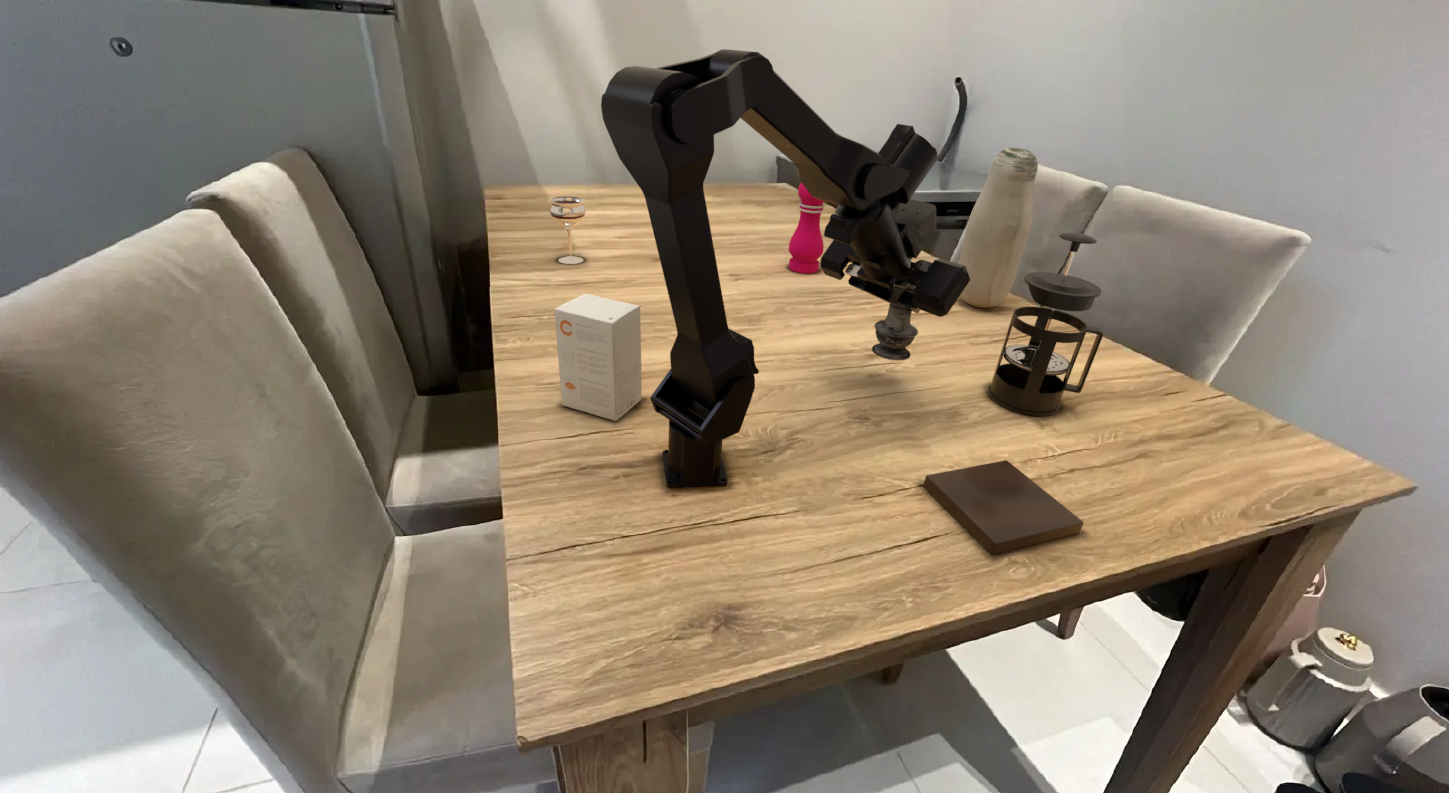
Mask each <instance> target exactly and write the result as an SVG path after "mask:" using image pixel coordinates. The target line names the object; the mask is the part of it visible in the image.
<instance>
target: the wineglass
mask: <svg viewBox="0 0 1449 793" xmlns="http://www.w3.org/2000/svg"><path fill="white" fill-rule="evenodd" d="M549 201H550V203H551V204H550V208H549V209H550V210H549V212H550V216H551V218H552V220H554V222H556V224H557V225H560V226H562V227H563V228H564V229H565V230H566V233H567V242H568V254H569V255H566V256H562V257H559V259H558V262H559V263H562V264H566V265H576V264H580V263H583V262H584V259H583V258H582V257H579V256H574V255H573V254H572V252H573V251H572V230H573V228H574V227H576V226H578V225H580V223H582V222H583V221H584V219H585V217H586V207H585V205H584V203H585V199H584V198H583V197H580V196H572V195H560V196H554V197H551V198H549Z"/></svg>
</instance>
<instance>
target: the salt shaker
mask: <svg viewBox="0 0 1449 793" xmlns="http://www.w3.org/2000/svg"><path fill="white" fill-rule="evenodd" d="M904 290H905V289H904V288H901V287H898V286H895V285H894V289H893V294H892V297H891V298H889V299H888V301H889V302H888V304H889V306H888V310H887V315H886V317H885V318H884V319H882V320H881V319H880V320H878V321H876V322H875V323H874V329H875V336H876V340H877V341H878V342H879V343H876V344H874V345H872V347H871V351H872V353H873V354H874V355H875V356H877V357H879V358H881V359H882V358H883V359H885V360H889V361H890V360H891V361H905V360H908V359H909V358H910V357H911V352H910V350H909V349H907V347H909V346H910V345H911V344H912V342H913V341H914V340H915V337H917V336H918V335H919V330H918V329H917V327H916V326H914V325H913V324H911V316H912V312H913V311H911V310H909V309H908V308H906V307H904V306H902V305H901V304H899V303H897V302H896V301H897V300H898V298H899V297H900V295H901V294H902V292H903V291H904Z"/></svg>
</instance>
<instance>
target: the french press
mask: <svg viewBox="0 0 1449 793" xmlns="http://www.w3.org/2000/svg"><path fill="white" fill-rule="evenodd" d="M1058 237H1059V238H1060V239H1062V240H1064V241H1068V242H1071V244H1070V246H1069V252H1070V254H1069V255H1070V256H1069V258H1068V260H1067V263H1066V266H1065V268H1064V272H1063V273H1057V272H1049V271H1035V272H1030V273H1029V272H1028V273H1026V274H1025V275H1024V277H1023V281H1024V283H1025V284H1027V286H1028V290H1029V292H1030V296H1031V297H1032V299H1033V301H1034V302H1035V303H1036V304H1037V305H1040V306H1019V307H1017V308H1015V309H1014V310H1013V312H1012V316H1011V318H1010V321H1009V325H1008V328H1007V332H1006V335H1005V338H1004V340H1003V341H1004V342H1003V344H1002V348H1001V351H1000V354H999V356H998V357H999V358H998V360H997V364H996V367H995V370H994V374H993V377H992V380H991V383H990V384H989V385H988V387H987V390H986V391H987V396H988V397H989V398H990V400H992V401H993V402H995V404H997V406H1000V407H1002V408H1004V409H1006V410H1008V411H1011V412H1014V413H1016V414H1021V415H1024V416H1025V415H1026V416H1030V417H1032V416H1033V417H1049V416H1054V415H1055V414H1057V413H1058V412H1059V410H1060V408H1061V400H1062V397H1063V395H1064V392H1071V393H1076V394H1080V393H1081V392H1082V390H1083V388H1084V385H1085V382H1086V380H1087V378H1088V375H1089V373H1090V370H1091V367H1092V365H1093V362H1094V360H1095V357H1096V355H1097V352H1098V350H1099V347H1100V344H1101V342H1102V340H1103V337H1104V331H1103V329H1102V328H1101V327H1096V326H1091V325H1087V323H1086V322H1085V321H1084V320H1083V319H1080V318H1079V317H1077V316H1076V315H1073V314H1070V313H1068V312H1084V311H1085V312H1086V311H1089V310H1090V309H1092V307H1093V305H1094V302H1095V299H1096V298H1098V297H1100V296H1101V294H1102V289H1101V288H1100V287H1099V286H1098V285H1096V284H1095V283H1094V282H1091V281H1088V280H1085V279H1082V278H1080V277H1076V276H1073V275H1069V274H1068V273H1069V271H1070V267H1071V265H1072V261H1073V259H1074V255H1075V253H1078V250H1079V248H1080V246H1081V244H1083V245H1084V244H1085V245H1094V244H1097V243H1098V242H1097V241H1098V240H1097V239H1096V238H1094V237H1093V236H1090V235H1087V234H1084V233H1079V232H1062V233H1060V234H1058ZM1065 311H1067V312H1065ZM1021 317H1037V318H1036V320H1035V323H1034V325H1032V324H1029V323H1027V322H1025V321H1023V320H1022V319H1020V318H1021ZM1052 320H1053V321H1057V322H1061V323H1064V324H1066V325H1069V326H1071V327H1073V328H1075V330H1078V331H1077V332H1060V331H1055V330H1054V331H1053V330H1050V325H1051V323H1052ZM1012 328H1014V329H1016V330H1017V331H1019V332H1020V333H1022V334H1024V335H1026V336H1029V337H1030V338H1029V342H1028V344H1012V345H1008V341H1009V338H1010V335H1011V332H1012ZM1087 333H1089V334H1094V335H1096V336H1095V339H1094V341H1093V344H1092V347H1091V349H1090V352H1089V355H1088V357H1087V360H1086V362H1085V364H1084V367H1083V370H1082V372H1081V375H1080V378H1079V380H1078V383H1077V384H1076V385H1075V384H1071V383H1068V382H1069V378H1070V376H1071V374H1072V370H1073V368H1074V366H1075V363H1076V361H1077V358H1078V355H1079V352H1080V350H1081V348H1082V344H1083V341H1084V339H1085V337H1086V334H1087ZM1057 343H1058V344H1059V343H1060V344H1074V343H1076V345H1075V347H1074V351H1073V353H1072V356H1071V359H1070V361H1069V360H1068V358H1066V357H1064V356H1063V355H1061V354H1060V353H1058V352H1056V351H1055V348H1056V345H1057ZM1007 345H1008V346H1007ZM1003 358H1004V360H1005V361H1006V362H1008V363H1004V364H1001V363H1002V360H1003ZM1064 374H1065V375H1064ZM1061 375H1064V377H1063V379H1061V377H1059V376H1061ZM1020 387H1022V388H1023V389H1022V388H1020Z"/></svg>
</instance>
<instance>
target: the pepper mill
mask: <svg viewBox="0 0 1449 793" xmlns="http://www.w3.org/2000/svg"><path fill="white" fill-rule="evenodd" d="M797 195H798V198H799V199H800V202H799V207H798V210H799V212H800V213H799V220H798V223H797V225H796V228H795V230H794V232H793V234H792V236H791V237H790V241H789V244H788V252H789V254H790V256H791V257H790V258H789V259H788V260H789V261H788V269H789V270H791V271H792V272H795V273H798V274H814V273H817V272H818V271H819V267H820V261H819V260H818V259H820V258H821V257H822V255H823V254H824V246H825V245H824V239H823V236H822V232H821V216H822V213H823V212H824V208H825V204H824V202H825V201H823V200H819V199H816V198H814V197H813V196H812V195H811V194H810V193H809V192H808V190H807V189H806V188H805V186H804V185H803V184H802V182H801V183H800V184H799V186H798V190H797Z"/></svg>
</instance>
